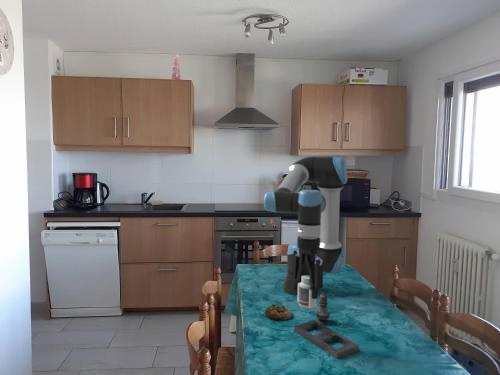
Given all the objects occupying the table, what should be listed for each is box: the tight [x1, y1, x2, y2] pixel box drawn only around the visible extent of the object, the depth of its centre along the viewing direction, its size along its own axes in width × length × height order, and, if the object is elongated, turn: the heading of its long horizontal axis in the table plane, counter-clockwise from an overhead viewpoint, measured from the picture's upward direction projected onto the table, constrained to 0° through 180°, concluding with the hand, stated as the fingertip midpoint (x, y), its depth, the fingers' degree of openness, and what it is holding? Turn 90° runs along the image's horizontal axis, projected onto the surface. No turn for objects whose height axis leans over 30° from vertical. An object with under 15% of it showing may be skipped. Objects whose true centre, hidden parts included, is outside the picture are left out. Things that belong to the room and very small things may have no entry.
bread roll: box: [264, 303, 292, 322], centre depth 153 cm, size 11×11×5 cm
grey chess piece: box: [314, 291, 331, 326], centre depth 147 cm, size 6×6×12 cm
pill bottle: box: [298, 275, 311, 309], centre depth 127 cm, size 5×5×10 cm
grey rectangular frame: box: [293, 319, 360, 360], centre depth 132 cm, size 22×10×2 cm, turn 32°
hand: (306, 304), depth 127 cm, fingers closed on pill bottle, 5 cm apart
